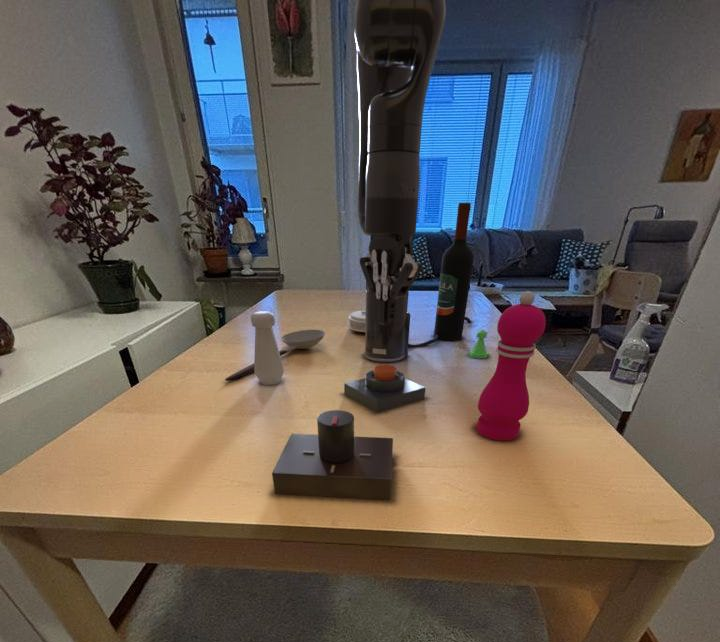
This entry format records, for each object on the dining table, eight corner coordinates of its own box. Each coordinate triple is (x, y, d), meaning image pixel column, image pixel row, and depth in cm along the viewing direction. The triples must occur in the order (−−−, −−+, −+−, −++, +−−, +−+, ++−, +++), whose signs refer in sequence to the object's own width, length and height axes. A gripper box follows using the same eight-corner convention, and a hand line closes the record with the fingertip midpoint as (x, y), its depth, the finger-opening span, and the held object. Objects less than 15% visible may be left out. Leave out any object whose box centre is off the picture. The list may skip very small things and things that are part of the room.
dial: (321, 445, 51) (318, 407, 48) (354, 445, 51) (354, 407, 48) (317, 462, 48) (314, 423, 45) (353, 463, 48) (353, 423, 45)
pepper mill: (514, 447, 57) (553, 298, 46) (466, 434, 61) (492, 292, 49) (526, 428, 62) (563, 289, 51) (481, 417, 66) (507, 285, 54)
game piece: (491, 356, 93) (496, 330, 90) (479, 359, 91) (483, 332, 88) (477, 352, 96) (481, 326, 93) (465, 355, 94) (469, 328, 91)
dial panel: (391, 456, 55) (393, 436, 53) (390, 500, 47) (391, 478, 45) (293, 452, 56) (291, 432, 54) (274, 493, 48) (271, 471, 46)
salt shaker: (278, 387, 76) (270, 316, 69) (251, 385, 77) (240, 315, 70) (289, 377, 81) (282, 309, 73) (263, 375, 82) (253, 308, 74)
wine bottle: (464, 341, 104) (485, 202, 87) (435, 340, 104) (451, 202, 87) (458, 333, 110) (477, 203, 93) (431, 333, 110) (445, 203, 94)
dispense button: (386, 372, 73) (387, 363, 72) (400, 378, 70) (401, 369, 69) (369, 376, 71) (369, 367, 70) (382, 383, 68) (383, 373, 67)
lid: (398, 327, 116) (399, 309, 113) (382, 338, 106) (383, 318, 104) (359, 323, 120) (359, 305, 117) (340, 332, 111) (340, 313, 108)
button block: (390, 382, 79) (391, 362, 76) (424, 398, 72) (426, 377, 70) (344, 394, 73) (343, 373, 71) (376, 413, 67) (377, 390, 64)
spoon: (334, 342, 100) (333, 330, 98) (248, 391, 76) (244, 376, 75) (299, 340, 105) (297, 329, 103) (208, 386, 81) (204, 371, 80)
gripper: (444, 195, 53) (430, 329, 63) (384, 197, 62) (379, 314, 72) (401, 193, 49) (393, 335, 59) (344, 196, 58) (345, 319, 68)
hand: (386, 323), depth 65 cm, fingers closed
